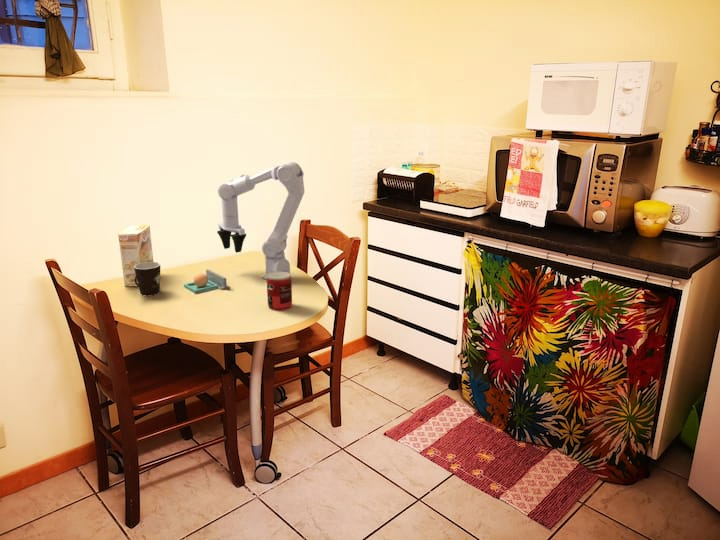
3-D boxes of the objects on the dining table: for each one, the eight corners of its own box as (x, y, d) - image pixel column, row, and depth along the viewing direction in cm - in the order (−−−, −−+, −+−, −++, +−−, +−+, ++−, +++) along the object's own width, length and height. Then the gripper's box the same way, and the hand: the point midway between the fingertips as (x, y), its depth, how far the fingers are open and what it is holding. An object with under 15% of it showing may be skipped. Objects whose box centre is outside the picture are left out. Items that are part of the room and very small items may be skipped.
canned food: (270, 302, 182) (268, 270, 179) (293, 302, 182) (292, 271, 179) (265, 310, 175) (264, 278, 172) (290, 311, 175) (289, 278, 171)
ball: (211, 287, 196) (210, 274, 194) (199, 290, 192) (198, 277, 191) (203, 283, 199) (202, 270, 197) (191, 286, 195) (190, 273, 194)
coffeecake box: (143, 286, 197) (137, 233, 191) (123, 286, 196) (116, 234, 190) (155, 273, 211) (150, 224, 205) (137, 273, 211) (131, 224, 205)
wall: (229, 288, 195) (228, 277, 194) (221, 289, 193) (221, 279, 192) (211, 278, 205) (210, 268, 204) (204, 280, 203) (203, 270, 202)
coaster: (218, 288, 195) (218, 285, 195) (194, 293, 190) (194, 290, 189) (207, 282, 202) (207, 279, 201) (184, 287, 196) (183, 284, 196)
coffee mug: (153, 287, 196) (150, 260, 193) (168, 291, 191) (165, 264, 188) (124, 296, 187) (120, 268, 184) (138, 301, 182) (135, 272, 179)
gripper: (250, 216, 201) (252, 251, 205) (228, 210, 211) (230, 244, 215) (234, 219, 196) (236, 255, 200) (212, 213, 206) (215, 248, 210)
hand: (232, 250), depth 207 cm, fingers open, 7 cm apart
